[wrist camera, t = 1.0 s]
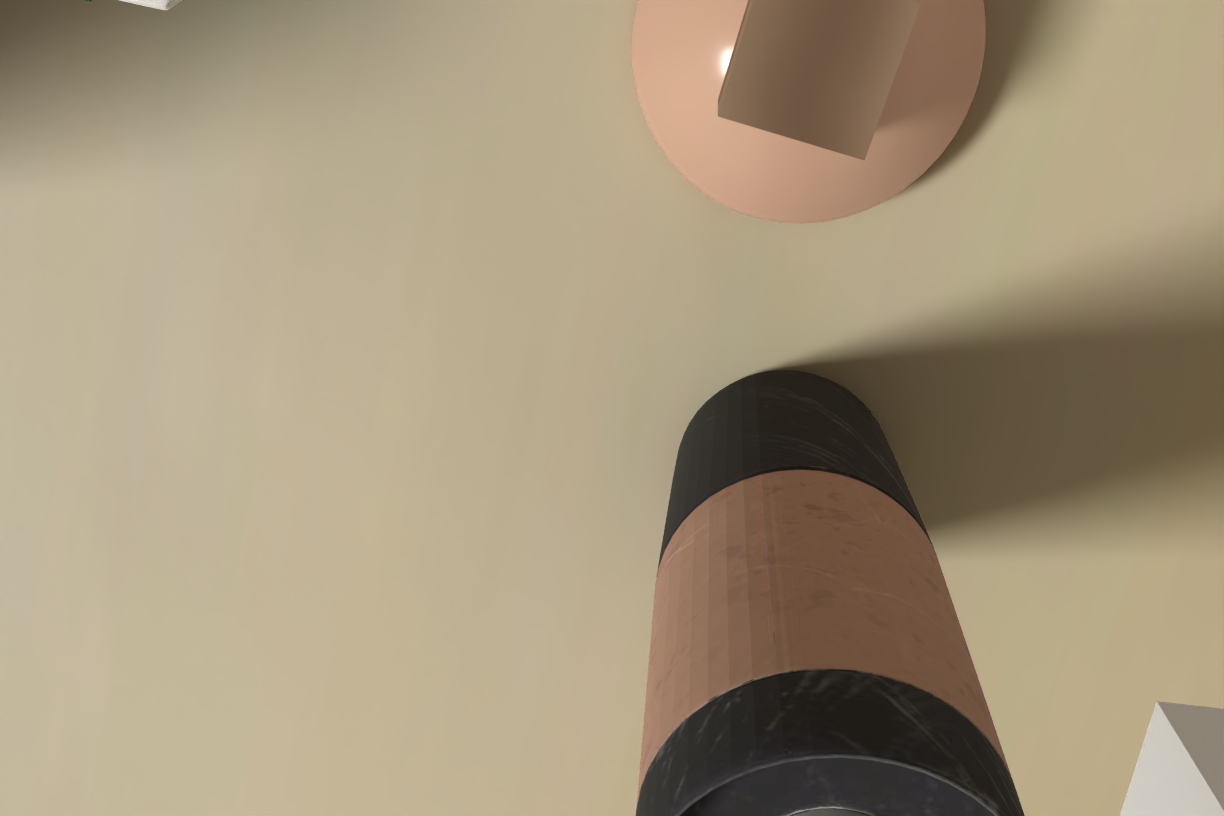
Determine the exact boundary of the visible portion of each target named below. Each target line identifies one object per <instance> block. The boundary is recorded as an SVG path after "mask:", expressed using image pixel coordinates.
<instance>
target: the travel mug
mask: <svg viewBox="0 0 1224 816" xmlns="http://www.w3.org/2000/svg"><path fill="white" fill-rule="evenodd" d="M636 816H1024V813H1023V810H1022V807H1021V804H1020V801H1019V798H1018V795H1017V792H1016V789H1015V786H1014V783H1013V780H1012V778H1011V774H1010V771H1009V768H1008V765H1007V762H1006V760H1005V757H1004V754H1003V751H1002V748H1001V745H1000V742H999V739H998V736H997V733H996V730H995V727H994V724H993V721H992V718H991V715H990V712H989V709H988V706H987V703H986V700H985V697H984V694H983V691H982V689H981V686H980V683H979V680H978V677H977V674H976V671H975V668H974V665H973V662H972V659H971V656H970V653H969V650H968V647H967V644H966V641H965V638H964V635H963V632H962V629H961V626H960V623H959V620H958V617H957V615H956V612H955V609H954V606H953V603H952V600H951V597H950V594H949V591H948V588H947V585H946V582H945V579H944V576H943V573H942V570H941V567H940V564H939V561H938V558H937V555H936V553H935V551H934V548H933V545H932V543H931V541H930V538H929V536H928V534H927V531H926V529H925V527H924V524H923V522H922V520H921V517H920V515H919V513H918V511H917V508H916V506H915V504H914V501H913V499H912V497H911V494H910V492H909V490H908V487H907V485H906V483H905V480H904V478H903V476H902V474H901V471H900V469H899V467H898V464H897V462H896V460H895V457H894V455H893V453H892V450H891V448H890V446H889V444H888V442H887V440H886V438H885V436H884V434H883V432H882V430H881V428H880V426H879V424H878V422H877V421H876V419H875V418H874V416H873V415H872V413H871V412H870V410H869V409H868V408H867V407H866V406H865V405H864V404H863V403H862V402H861V401H860V400H859V399H858V398H857V397H856V396H854V395H853V394H852V393H851V392H849V391H848V390H846V389H845V388H843V387H841V386H840V385H838V384H836V383H834V382H832V381H829V380H827V379H825V378H822V377H819V376H816V375H812V374H808V373H802V372H794V371H775V372H766V373H761V374H756V375H753V376H750V377H746V378H743V379H741V380H739V381H737V382H734V383H732V384H730V385H729V386H727V387H725V388H724V389H722V390H721V391H719V392H718V393H716V394H715V395H714V396H713V397H712V398H710V399H709V400H708V401H707V402H706V403H705V404H704V405H703V406H702V407H701V408H700V409H699V410H698V412H697V413H696V414H695V416H694V417H693V419H692V420H691V422H690V423H689V425H688V427H687V429H686V431H685V433H684V436H683V439H682V441H681V444H680V447H679V451H678V456H677V461H676V466H675V471H674V476H673V482H672V488H671V494H670V500H669V506H668V512H667V518H666V524H665V530H664V536H663V542H662V548H661V554H660V560H659V566H658V572H657V579H656V585H655V597H654V609H653V621H652V633H651V644H650V656H649V668H648V680H647V692H646V703H645V715H644V727H643V739H642V751H641V762H640V774H639V786H638V798H637V809H636Z"/></svg>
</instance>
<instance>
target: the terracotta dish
mask: <svg viewBox="0 0 1224 816" xmlns="http://www.w3.org/2000/svg"><path fill="white" fill-rule="evenodd" d="M908 1H911V2H914V3H917V4H921V6H920V8H919V11H918V14H917V17H916V20H915V22H914V25H913V28H912V31H911V33H910V36H909V39H908V42H907V44H906V47H905V50H904V53H903V56H902V58H901V61H900V64H899V67H898V69H897V72H896V75H895V78H894V80H893V83H892V86H891V89H890V92H889V94H888V97H887V100H886V103H885V105H884V108H883V111H882V114H881V117H880V119H879V122H878V125H877V128H876V130H875V133H874V136H873V139H872V141H871V144H870V147H869V150H868V153H867V155H866V158H865V161H864V160H861V159H858V158H854V157H851V156H848V155H844V154H841V153H838V152H834V151H831V150H828V149H824V148H821V147H818V146H814V145H811V144H808V143H804V142H801V141H798V140H794V139H791V138H788V137H784V136H781V135H778V134H774V133H771V132H768V131H764V130H761V129H758V128H754V127H751V126H748V125H744V124H741V123H738V122H734V121H731V120H728V119H724V118H721V117H718V97H719V94H720V91H721V88H722V84H723V81H724V78H725V74H726V71H727V68H728V65H729V61H730V58H731V55H732V52H733V48H734V45H735V42H736V39H737V35H738V32H739V29H740V26H741V22H742V19H743V16H744V13H745V9H746V6H747V3H748V0H638V4H637V7H636V13H635V19H634V25H633V32H632V65H633V76H634V82H635V86H636V91H637V96H638V100H639V103H640V106H641V109H642V112H643V114H644V117H645V120H646V123H647V125H648V126H649V128H650V130H651V132H652V134H653V136H654V138H655V140H656V142H657V144H658V145H659V147H660V148H661V149H662V151H663V152H664V154H665V155H666V157H667V158H668V160H669V161H670V162H671V163H672V164H673V165H674V166H675V168H676V169H677V170H678V171H679V172H680V173H681V174H682V175H683V176H684V177H685V178H686V179H687V180H688V181H689V182H691V183H692V184H693V185H694V186H695V187H696V188H698V189H699V190H700V191H701V192H703V193H704V194H706V195H708V196H709V197H711V198H712V199H714V200H715V201H717V202H718V203H721V204H723V205H725V206H727V207H729V208H731V209H733V210H735V211H737V212H740V213H743V214H746V215H750V216H753V217H756V218H759V219H765V220H770V221H776V222H785V223H813V222H824V221H829V220H834V219H839V218H844V217H847V216H850V215H853V214H856V213H859V212H862V211H865V210H868V209H870V208H872V207H874V206H876V205H878V204H880V203H882V202H884V201H886V200H888V199H890V198H891V197H893V196H894V195H896V194H897V193H899V192H900V191H902V190H903V189H905V188H907V187H908V186H909V185H910V184H911V183H913V182H914V181H915V180H916V179H917V178H919V177H920V176H921V175H922V174H923V173H925V171H926V170H927V169H928V168H929V167H930V166H931V165H932V164H933V163H934V162H935V161H936V160H937V159H938V158H939V157H940V156H941V154H942V153H943V151H944V150H945V149H946V147H947V146H948V145H949V143H950V142H951V141H952V139H953V138H954V137H955V135H956V133H957V131H958V130H959V128H960V126H961V124H962V122H963V121H964V119H965V117H966V115H967V113H968V111H969V108H970V106H971V103H972V101H973V98H974V96H975V94H976V90H977V87H978V83H979V79H980V76H981V72H982V67H983V60H984V53H985V46H986V17H985V8H984V0H908Z"/></svg>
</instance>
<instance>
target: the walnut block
mask: <svg viewBox="0 0 1224 816" xmlns="http://www.w3.org/2000/svg"><path fill="white" fill-rule="evenodd" d="M920 6H921V4H917V3H914V2H911V1H908V0H748V3H747V6H746V9H745V13H744V16H743V19H742V22H741V26H740V29H739V32H738V35H737V39H736V42H735V45H734V48H733V52H732V55H731V58H730V61H729V65H728V68H727V71H726V74H725V78H724V81H723V84H722V88H721V91H720V94H719V97H718V117H721V118H724V119H728V120H731V121H734V122H738V123H741V124H744V125H748V126H751V127H754V128H758V129H761V130H764V131H768V132H771V133H774V134H778V135H781V136H784V137H788V138H791V139H794V140H798V141H801V142H804V143H808V144H811V145H814V146H818V147H821V148H824V149H828V150H831V151H834V152H838V153H841V154H844V155H848V156H851V157H854V158H858V159H861V160H864V161H865V158H866V155H867V153H868V150H869V147H870V144H871V141H872V139H873V136H874V133H875V130H876V128H877V125H878V122H879V119H880V117H881V114H882V111H883V108H884V105H885V103H886V100H887V97H888V94H889V92H890V89H891V86H892V83H893V80H894V78H895V75H896V72H897V69H898V67H899V64H900V61H901V58H902V56H903V53H904V50H905V47H906V44H907V42H908V39H909V36H910V33H911V31H912V28H913V25H914V22H915V20H916V17H917V14H918V11H919V8H920Z"/></svg>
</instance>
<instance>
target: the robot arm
mask: <svg viewBox="0 0 1224 816" xmlns="http://www.w3.org/2000/svg"><path fill="white" fill-rule="evenodd" d="M1120 816H1224V709H1220V708H1211V707H1202V706H1193V705H1184V704H1175V703H1167V702H1158V701H1157V702H1156V705H1155V708H1154V711H1153V714H1152V718H1151V721H1150V724H1149V727H1148V730H1147V733H1146V736H1145V739H1144V742H1143V746H1142V749H1141V752H1140V755H1139V758H1138V761H1137V764H1136V767H1135V770H1134V774H1133V777H1132V780H1131V783H1130V786H1129V789H1128V792H1127V795H1126V798H1125V802H1124V805H1123V808H1122V811H1121V814H1120Z"/></svg>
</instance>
